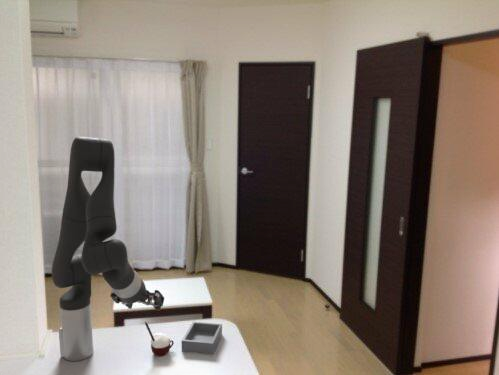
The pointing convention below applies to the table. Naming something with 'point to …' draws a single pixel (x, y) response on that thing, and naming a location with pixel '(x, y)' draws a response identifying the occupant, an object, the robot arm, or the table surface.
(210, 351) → the dock tray
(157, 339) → the cocoa
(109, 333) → the table surface
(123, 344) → the table surface
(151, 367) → the table surface
